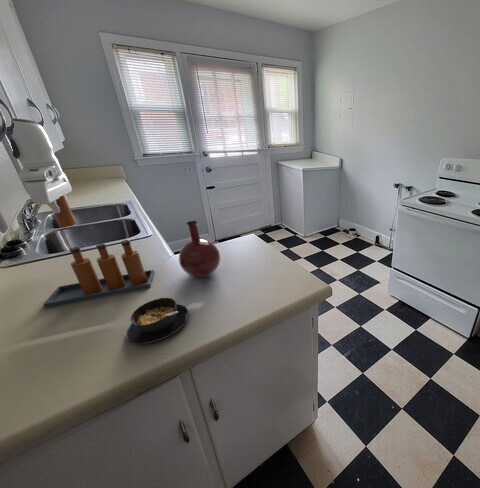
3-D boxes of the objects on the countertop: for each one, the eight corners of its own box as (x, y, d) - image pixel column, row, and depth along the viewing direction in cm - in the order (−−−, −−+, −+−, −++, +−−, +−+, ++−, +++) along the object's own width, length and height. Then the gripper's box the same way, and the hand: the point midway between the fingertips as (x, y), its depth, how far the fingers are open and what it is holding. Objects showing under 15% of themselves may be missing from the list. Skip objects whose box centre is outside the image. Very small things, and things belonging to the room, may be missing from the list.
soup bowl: (180, 302, 83) (174, 281, 80) (199, 328, 72) (193, 306, 69) (122, 325, 74) (113, 303, 71) (134, 359, 63) (124, 335, 60)
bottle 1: (82, 296, 85) (61, 252, 79) (87, 289, 89) (68, 246, 82) (99, 293, 87) (80, 250, 80) (104, 285, 90) (86, 244, 84)
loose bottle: (57, 227, 97) (37, 184, 90) (63, 223, 101) (44, 182, 94) (73, 225, 98) (55, 183, 92) (78, 222, 102) (61, 181, 96)
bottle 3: (130, 287, 89) (114, 245, 83) (133, 280, 93) (118, 239, 87) (146, 284, 91) (132, 242, 85) (148, 277, 95) (135, 237, 88)
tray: (46, 310, 80) (43, 304, 79) (61, 291, 89) (58, 286, 88) (150, 289, 89) (149, 283, 89) (155, 274, 98) (153, 269, 97)
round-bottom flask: (223, 263, 105) (213, 214, 97) (222, 280, 94) (211, 226, 85) (186, 268, 102) (173, 218, 93) (181, 287, 90) (165, 232, 82)
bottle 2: (107, 291, 87) (88, 249, 81) (111, 284, 91) (93, 243, 85) (123, 288, 89) (107, 246, 82) (127, 281, 93) (111, 240, 86)
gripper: (46, 167, 99) (62, 203, 105) (15, 177, 82) (36, 220, 88) (68, 166, 101) (82, 202, 107) (41, 175, 84) (60, 217, 90)
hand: (61, 210), depth 97 cm, fingers closed on loose bottle, 4 cm apart
